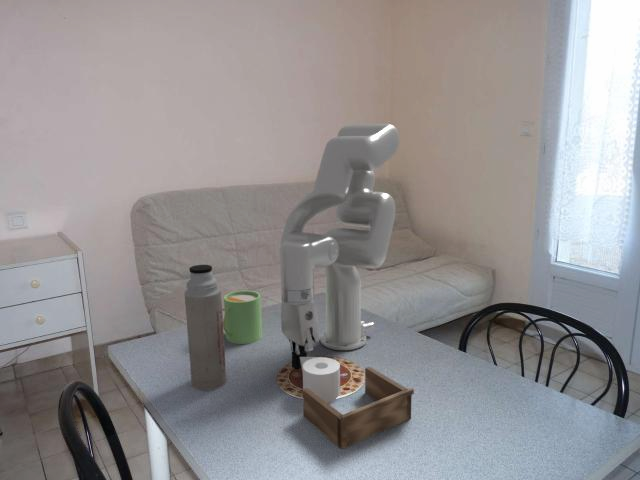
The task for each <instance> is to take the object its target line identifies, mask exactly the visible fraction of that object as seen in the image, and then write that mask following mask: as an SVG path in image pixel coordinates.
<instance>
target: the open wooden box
mask: <svg viewBox="0 0 640 480" xmlns="http://www.w3.org/2000/svg"><path fill="white" fill-rule="evenodd" d="M364 371H365V372H364V376H365V378H364V379H365V380H364V381H365V382H364V386H365V387H364V390H365V391H364V393H365V394H366V395H368V396H369V397H371V398H373V399H374V400H376V401H374V402H370V403H368V404H366V405H364V406H361V407H357V408H356V409H354V410H351V411H348V412H346V413H343V414H342V413H341V412H340V411H338V409H336V408H335V407H333V406H332V405H331V404H330V403H327V402H325V401H324V400H323V399H321V398H320V397H319V396H317V395H316V394H315V393H314V392H312V391H311V390H310V389H308V388H306V389H303V388H302V410H303V411H302V416H303V417H304V419H306V420H307V421H308V422H309V423H310V424H312V426H313V427H315V428H316V429H318V430H319V431H320V432H321V433H322V434H323V435H325V436H326V438H328V439H329V441H331V442H333V444H335V445H336V447H337V446H338V448H340V449H341V450H343V449H346V448H347V447H349V446H353V445H354V444H356V443H359V442H361V441H362V440H363V441H364V440H365V439H368V438H370V437H372V436H374V435H376V434H378V433H381V432H384V431H385V430H387V429H390V428H392V427H395V426H397V425H398V424H399V425H400V424H401V423H404V422H406V421H408V420H411V419H412V398H413V397H412V395H414V394H415V392H414V391H415V389H414V388H413V387H412V388H411V387H410V388H407V387H406V386H404V385H402V384H400V383H398V382H396V381H395V380H393V379H392V378H390V377H388V376H386V375H385V374H383V373H382V372H380V371H378V370H377V369H375V368H373V367H371V366H367V367H365V368H364Z"/></svg>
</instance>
